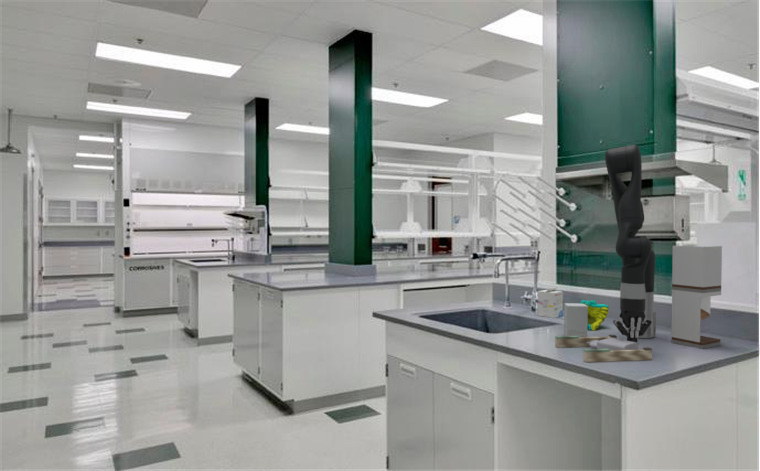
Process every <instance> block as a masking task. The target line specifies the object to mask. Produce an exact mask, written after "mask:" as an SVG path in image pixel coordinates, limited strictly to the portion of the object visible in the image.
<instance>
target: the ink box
mask: <svg viewBox="0 0 760 471" xmlns="http://www.w3.org/2000/svg"><path fill="white" fill-rule="evenodd" d="M557 289H558V287H557V286H556V287H552V288H547V289H543V290H538V291H537V316H538V317H546V318H552V319H555V318H558V317H564V307H563V306H564V302H563V301H564V292H563V290H557Z"/></svg>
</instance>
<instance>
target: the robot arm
mask: <svg viewBox="0 0 760 471" xmlns="http://www.w3.org/2000/svg"><path fill="white" fill-rule="evenodd" d="M604 156H605V157H604V160H605V165H606V166H605V167H606V171H607V173H608V179H609V181H610V182H609V183H610V187H611V193H612V198H613V208H614V212H615V217H616V218H615V219H616V224H617V229H618V235H617V239H616V243H615V253H616V254H617V256H618V257H620V258H621V261H622V262H621V263H622V267H621V270H620V271H621V272H620V274H621V276H620V277H621V278H620V283H621V284H620V291H619V293H620V294H619V308H620V313H619V318H618V319H614V320H613V321H612V322H613V325H614V326H615V327H616V328H617V330H618V332H620V335H622V336H626V341H632V342H637V343H639V342H638V341H639V340H638V339H651V338H656V336H657V331H656V329H657V312H656V311H655V310H654V306H655V305H654V296H655V295H654V293H655V292H654V291H655V272H656V254H655V251H654V250H653V249H652V242H651V240H650V239H649V238H648V237H646V236H636V235H637V234H638V232H639V231H640V230H641V229H642V228H643V227H644V222H645V213H644V212H645V211H644V205H643V202H642V201H641V200H642V172H643V171H642V155H641V151H640V148H639V146H638V145H637V144H629V145H625V146H620V147H619V146H618V147H613V148H609V149H607V150H606V151H605V154H604ZM626 173H631V177H630V181H629V184H628V186H627V185H626V184H625V183H624V182H623V180H622V178H621V177H620V174H621V175H622V174H626Z"/></svg>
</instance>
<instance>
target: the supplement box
mask: <svg viewBox="0 0 760 471" xmlns="http://www.w3.org/2000/svg"><path fill="white" fill-rule="evenodd" d="M563 306H564V307H563V336H579V337H588V333H589V332H588V331H589V329H588V306H586V305H585V304H579V303H577V302H575V303H574V302H573V303H572V302H571V303H570V302H566V303H565V302H563Z"/></svg>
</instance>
